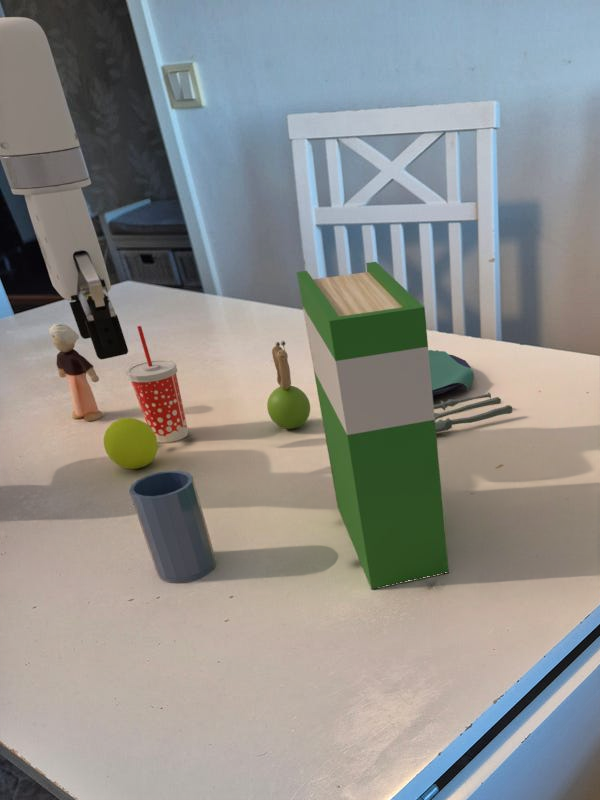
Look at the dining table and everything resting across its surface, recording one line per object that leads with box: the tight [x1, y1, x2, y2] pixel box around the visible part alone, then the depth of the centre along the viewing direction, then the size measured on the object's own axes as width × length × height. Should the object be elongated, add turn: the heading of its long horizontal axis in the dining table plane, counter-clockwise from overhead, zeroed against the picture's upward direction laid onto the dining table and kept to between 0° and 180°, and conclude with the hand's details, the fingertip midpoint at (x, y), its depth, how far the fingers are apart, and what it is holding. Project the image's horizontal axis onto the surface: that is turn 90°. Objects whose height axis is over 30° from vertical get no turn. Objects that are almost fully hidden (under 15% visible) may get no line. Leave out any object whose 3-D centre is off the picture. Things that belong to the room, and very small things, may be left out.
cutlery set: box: [428, 349, 513, 434], centre depth 116 cm, size 20×30×2 cm, turn 25°
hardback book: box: [296, 261, 450, 590], centre depth 78 cm, size 18×7×24 cm, turn 18°
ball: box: [103, 417, 159, 470], centre depth 101 cm, size 6×6×6 cm
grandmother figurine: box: [48, 323, 104, 422], centre depth 114 cm, size 8×4×13 cm, turn 72°
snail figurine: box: [266, 340, 311, 430], centre depth 106 cm, size 5×6×12 cm
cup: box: [128, 470, 217, 584], centre depth 79 cm, size 6×6×9 cm
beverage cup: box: [125, 325, 189, 444], centre depth 106 cm, size 6×6×14 cm
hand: (104, 345), depth 94 cm, fingers open, 9 cm apart
